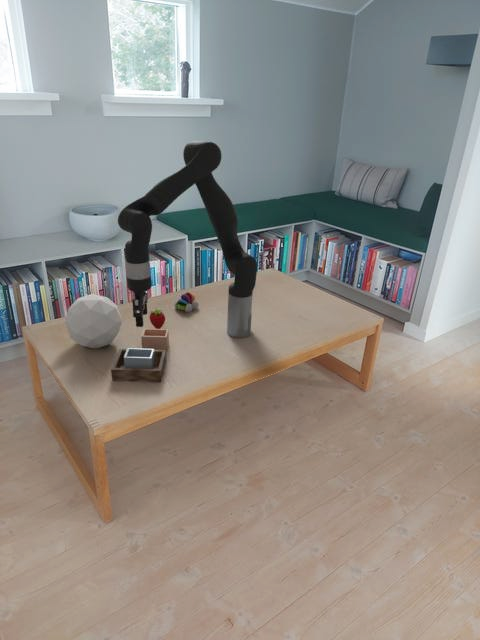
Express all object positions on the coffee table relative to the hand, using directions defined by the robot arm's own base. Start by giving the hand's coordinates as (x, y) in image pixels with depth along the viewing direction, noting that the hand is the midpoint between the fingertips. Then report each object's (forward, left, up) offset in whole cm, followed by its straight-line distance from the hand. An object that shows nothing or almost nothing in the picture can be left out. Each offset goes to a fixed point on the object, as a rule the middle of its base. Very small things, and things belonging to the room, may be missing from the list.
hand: (142, 320), depth 152 cm
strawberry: (-1, -27, -19) cm, 33 cm away
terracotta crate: (-2, -14, -18) cm, 23 cm away
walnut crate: (+1, +2, -18) cm, 19 cm away
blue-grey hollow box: (+1, +2, -17) cm, 18 cm away
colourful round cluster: (-10, -47, -19) cm, 52 cm away
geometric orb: (+20, -15, -19) cm, 31 cm away
